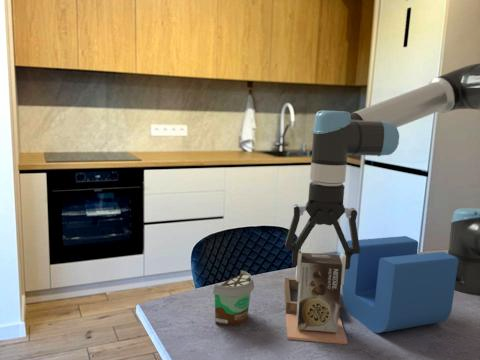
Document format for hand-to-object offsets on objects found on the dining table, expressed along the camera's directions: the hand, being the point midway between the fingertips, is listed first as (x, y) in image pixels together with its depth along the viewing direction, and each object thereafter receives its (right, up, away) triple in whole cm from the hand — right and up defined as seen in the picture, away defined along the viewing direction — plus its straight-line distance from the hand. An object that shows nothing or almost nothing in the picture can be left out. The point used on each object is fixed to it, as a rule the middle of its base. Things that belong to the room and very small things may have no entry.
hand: (319, 280), depth 103 cm
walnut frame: (0, -9, +16) cm, 19 cm away
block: (+20, -12, +10) cm, 25 cm away
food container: (-18, -11, +5) cm, 22 cm away
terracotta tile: (-1, -12, +2) cm, 12 cm away
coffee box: (0, -11, +2) cm, 11 cm away
